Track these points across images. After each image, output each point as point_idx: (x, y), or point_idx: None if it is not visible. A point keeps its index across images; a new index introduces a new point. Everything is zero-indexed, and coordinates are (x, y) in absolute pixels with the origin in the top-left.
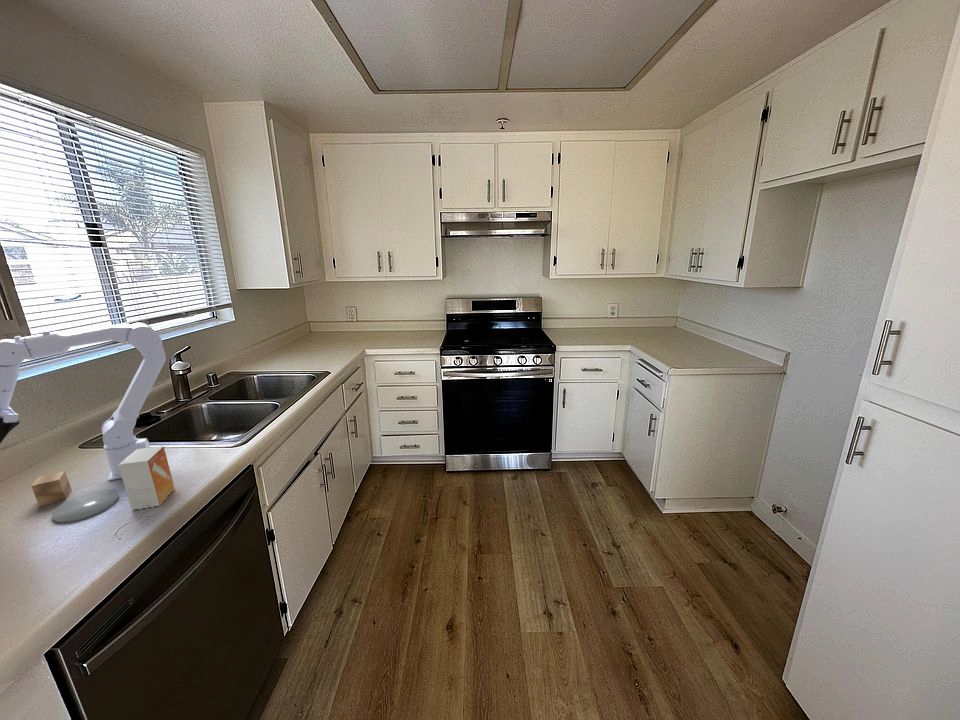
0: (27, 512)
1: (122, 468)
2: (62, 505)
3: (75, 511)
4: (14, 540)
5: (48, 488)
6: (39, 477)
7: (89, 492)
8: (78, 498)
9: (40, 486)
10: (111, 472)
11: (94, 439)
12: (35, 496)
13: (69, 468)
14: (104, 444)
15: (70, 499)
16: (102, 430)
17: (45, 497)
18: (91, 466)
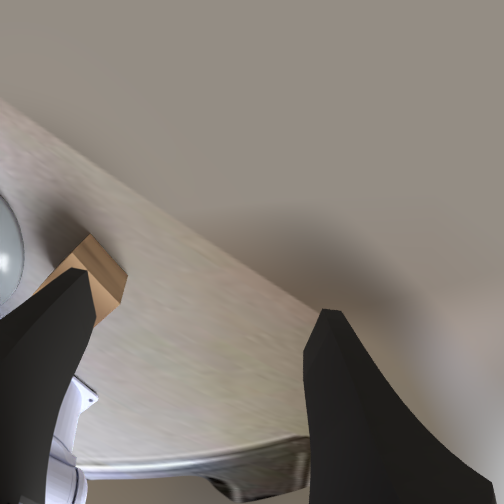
0: (89, 205)
1: None
2: (10, 234)
3: None
4: (3, 112)
5: (56, 268)
6: (109, 300)
7: (10, 293)
8: (7, 267)
9: (61, 263)
10: (73, 379)
11: (306, 457)
12: (82, 242)
13: (226, 384)
14: (57, 443)
15: (19, 260)
16: (61, 484)
17: (72, 251)
18: (176, 399)
